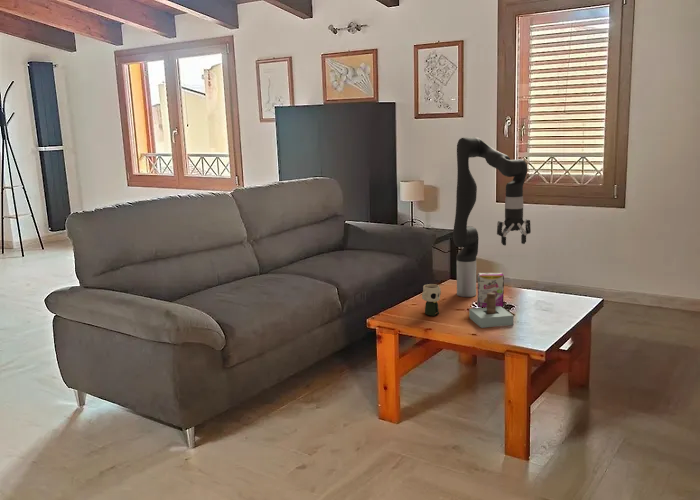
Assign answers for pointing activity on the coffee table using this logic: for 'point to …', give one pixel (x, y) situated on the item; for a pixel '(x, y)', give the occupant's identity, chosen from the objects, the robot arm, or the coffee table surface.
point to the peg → (491, 303)
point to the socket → (491, 317)
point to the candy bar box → (490, 288)
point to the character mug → (431, 298)
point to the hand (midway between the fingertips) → (513, 244)
